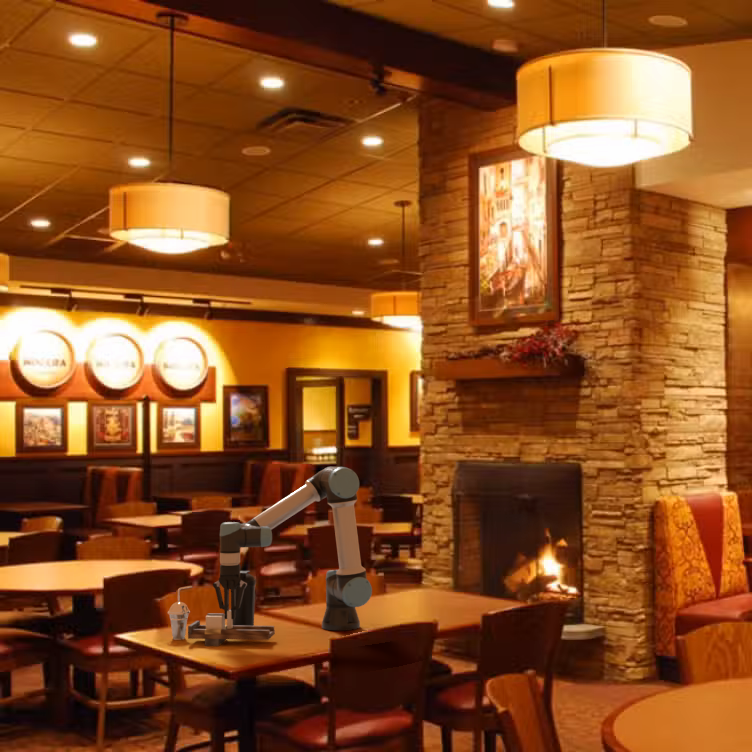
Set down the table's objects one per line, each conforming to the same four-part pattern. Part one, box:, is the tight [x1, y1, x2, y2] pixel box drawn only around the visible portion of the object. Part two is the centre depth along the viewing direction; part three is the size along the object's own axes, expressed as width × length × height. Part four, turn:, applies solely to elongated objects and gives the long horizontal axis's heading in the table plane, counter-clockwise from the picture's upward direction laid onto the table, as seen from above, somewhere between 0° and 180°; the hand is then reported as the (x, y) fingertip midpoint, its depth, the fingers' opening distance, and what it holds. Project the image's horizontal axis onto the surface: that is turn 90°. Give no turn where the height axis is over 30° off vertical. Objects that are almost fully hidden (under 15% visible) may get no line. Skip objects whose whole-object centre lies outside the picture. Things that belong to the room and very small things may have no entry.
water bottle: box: [233, 570, 257, 626], centre depth 443 cm, size 10×10×23 cm
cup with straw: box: [167, 585, 193, 641], centre depth 425 cm, size 8×9×20 cm
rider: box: [205, 612, 226, 629], centre depth 416 cm, size 6×6×7 cm
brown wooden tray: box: [187, 620, 276, 647], centre depth 415 cm, size 30×13×7 cm, turn 84°
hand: (229, 627), depth 415 cm, fingers closed
